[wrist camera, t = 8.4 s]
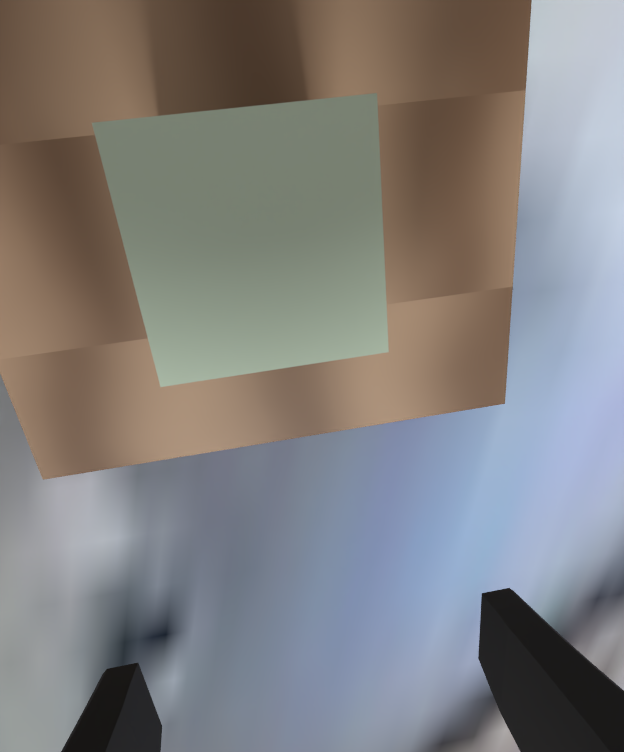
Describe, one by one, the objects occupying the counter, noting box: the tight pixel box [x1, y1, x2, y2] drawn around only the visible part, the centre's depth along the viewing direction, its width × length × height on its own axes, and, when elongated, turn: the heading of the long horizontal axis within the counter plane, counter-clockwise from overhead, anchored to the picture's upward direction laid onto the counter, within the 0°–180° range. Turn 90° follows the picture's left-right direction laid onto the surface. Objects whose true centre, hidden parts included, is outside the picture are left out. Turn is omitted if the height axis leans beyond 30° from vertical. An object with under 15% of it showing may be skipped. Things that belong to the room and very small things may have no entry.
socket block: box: [0, 0, 531, 479], centre depth 15 cm, size 16×14×3 cm
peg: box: [92, 93, 389, 387], centre depth 12 cm, size 4×4×9 cm
